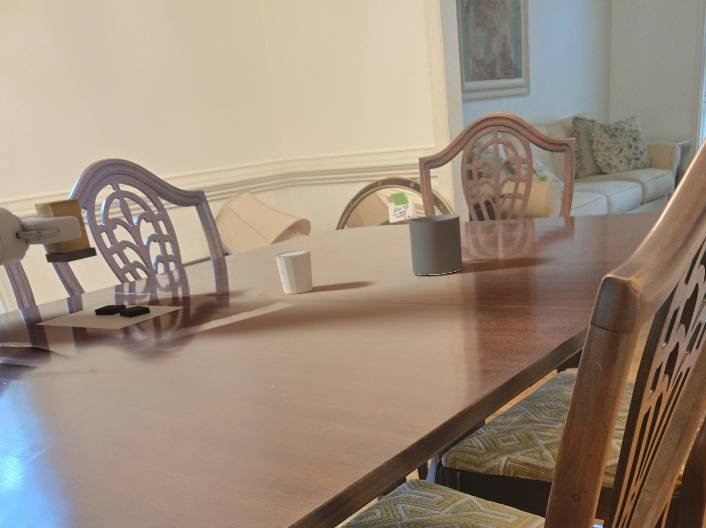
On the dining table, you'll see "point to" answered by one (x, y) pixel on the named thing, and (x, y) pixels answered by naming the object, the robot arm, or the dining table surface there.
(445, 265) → the coffee mug
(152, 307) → the note board
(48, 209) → the eraser
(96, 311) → the smudge
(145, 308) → the flat black square block
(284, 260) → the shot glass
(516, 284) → the dining table surface
